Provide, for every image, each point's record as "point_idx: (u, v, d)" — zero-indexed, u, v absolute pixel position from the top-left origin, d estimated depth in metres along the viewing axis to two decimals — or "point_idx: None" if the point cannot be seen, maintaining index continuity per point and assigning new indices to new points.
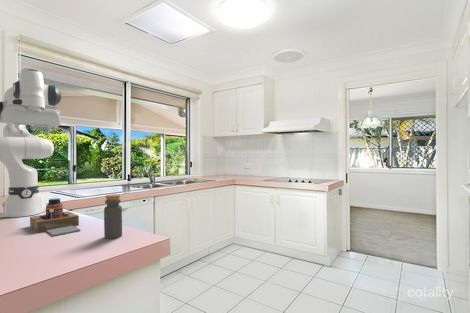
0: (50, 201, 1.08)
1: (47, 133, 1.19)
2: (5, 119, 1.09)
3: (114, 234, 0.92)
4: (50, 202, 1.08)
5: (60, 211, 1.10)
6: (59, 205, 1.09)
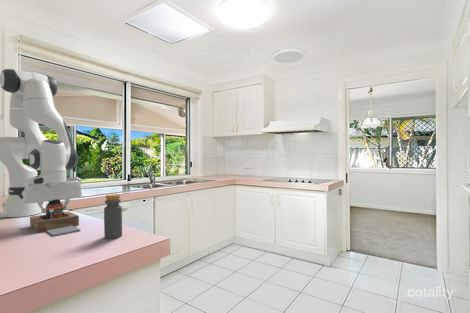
0: (50, 201, 1.08)
1: (65, 208, 1.12)
2: (25, 201, 1.02)
3: (114, 234, 0.92)
4: (50, 202, 1.08)
5: (60, 211, 1.10)
6: (59, 205, 1.09)
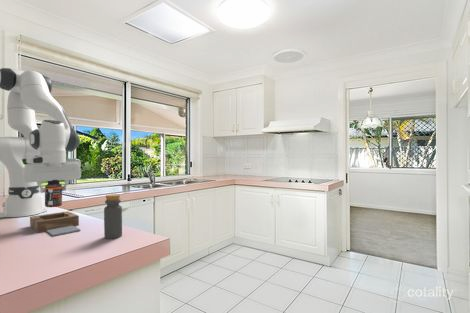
0: (49, 181, 1.08)
1: (64, 188, 1.13)
2: (25, 179, 1.02)
3: (114, 234, 0.92)
4: (49, 182, 1.08)
5: (59, 191, 1.10)
6: (58, 185, 1.10)
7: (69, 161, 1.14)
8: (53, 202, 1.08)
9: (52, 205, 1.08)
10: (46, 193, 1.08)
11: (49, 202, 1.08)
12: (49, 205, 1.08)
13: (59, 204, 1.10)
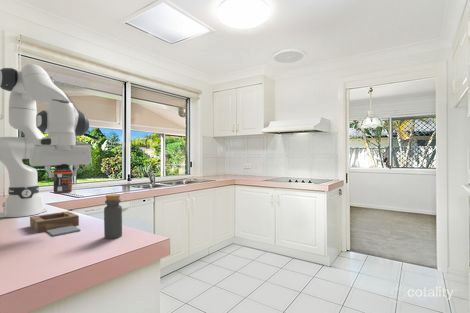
0: (58, 165, 1.00)
1: (74, 174, 1.04)
2: (32, 162, 0.93)
3: (114, 234, 0.92)
4: (58, 167, 1.00)
5: (69, 177, 1.01)
6: (68, 170, 1.01)
7: (79, 145, 1.06)
8: (62, 188, 0.99)
9: (61, 191, 0.99)
10: (55, 178, 0.99)
11: (58, 188, 0.99)
12: (58, 191, 0.99)
13: (69, 190, 1.01)
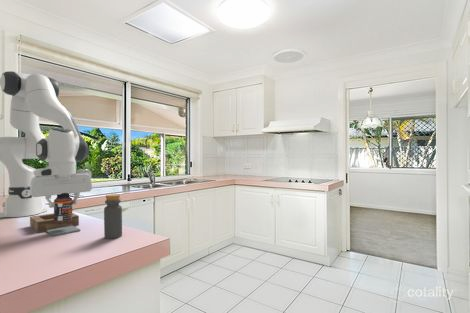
0: (58, 195, 1.00)
1: (74, 202, 1.04)
2: (32, 194, 0.93)
3: (114, 234, 0.92)
4: (58, 196, 1.00)
5: (69, 206, 1.01)
6: (68, 199, 1.01)
7: (79, 172, 1.06)
8: (63, 217, 0.99)
9: (62, 221, 0.99)
10: (55, 208, 0.99)
11: (59, 218, 0.99)
12: (59, 221, 0.99)
13: (70, 219, 1.01)
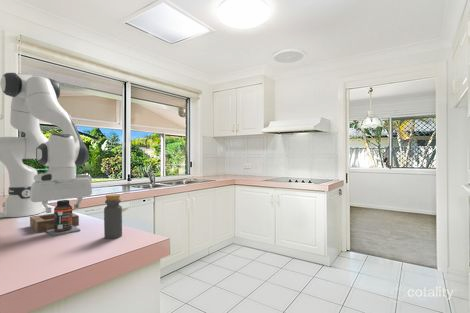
0: (59, 203, 1.00)
1: (77, 206, 1.05)
2: (32, 199, 0.93)
3: (114, 234, 0.92)
4: (59, 204, 1.00)
5: (69, 214, 1.01)
6: (68, 207, 1.01)
7: (79, 177, 1.06)
8: (63, 226, 0.99)
9: (62, 229, 0.99)
10: (55, 216, 0.99)
11: (59, 226, 0.99)
12: (59, 229, 0.99)
13: (70, 227, 1.01)
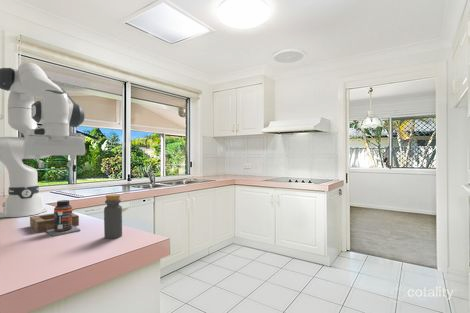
0: (59, 203, 1.00)
1: (70, 164, 1.06)
2: (25, 152, 0.94)
3: (114, 234, 0.92)
4: (59, 204, 1.00)
5: (69, 214, 1.01)
6: (68, 207, 1.01)
7: (73, 135, 1.07)
8: (63, 226, 0.99)
9: (62, 229, 0.99)
10: (55, 216, 0.99)
11: (59, 226, 0.99)
12: (59, 229, 0.99)
13: (70, 227, 1.01)
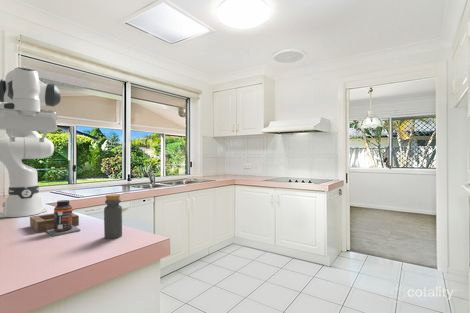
0: (59, 203, 1.00)
1: (42, 140, 1.10)
2: None
3: (114, 234, 0.92)
4: (59, 204, 1.00)
5: (69, 214, 1.01)
6: (68, 207, 1.01)
7: (44, 112, 1.11)
8: (63, 226, 0.99)
9: (62, 229, 0.99)
10: (55, 216, 0.99)
11: (59, 226, 0.99)
12: (59, 229, 0.99)
13: (70, 227, 1.01)
